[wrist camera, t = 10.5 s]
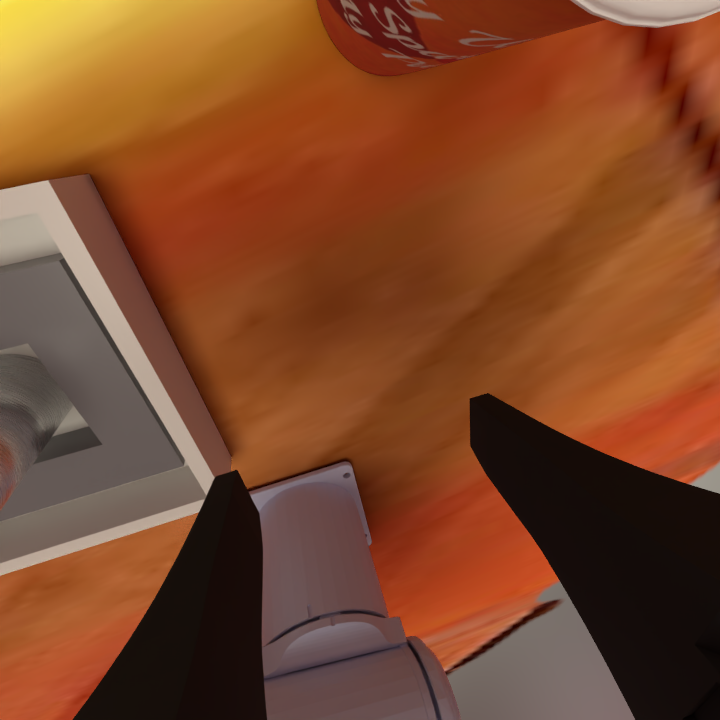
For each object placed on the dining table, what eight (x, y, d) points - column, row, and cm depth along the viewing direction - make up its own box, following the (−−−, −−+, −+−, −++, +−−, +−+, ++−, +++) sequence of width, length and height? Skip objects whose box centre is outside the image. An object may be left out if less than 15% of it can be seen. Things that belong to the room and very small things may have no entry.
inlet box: (231, 457, 23) (228, 502, 20) (-13, 531, 21) (-55, 592, 18) (89, 173, 15) (48, 180, 12) (-329, 258, 13) (-499, 290, 10)
